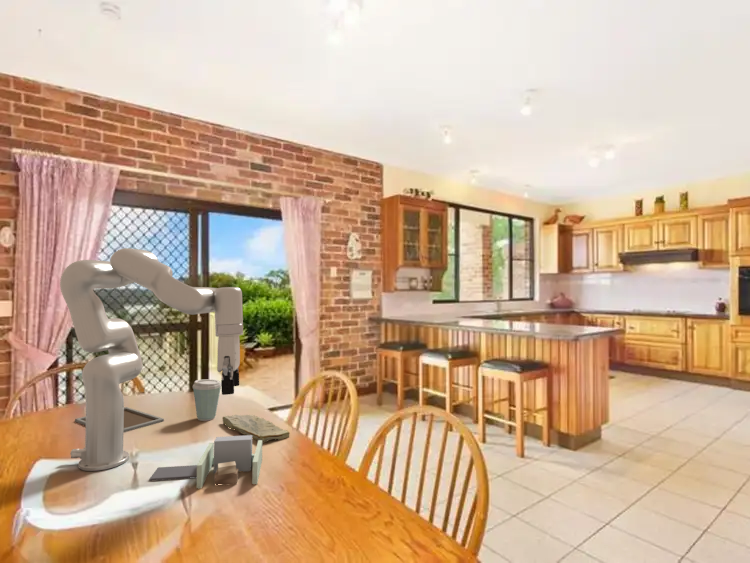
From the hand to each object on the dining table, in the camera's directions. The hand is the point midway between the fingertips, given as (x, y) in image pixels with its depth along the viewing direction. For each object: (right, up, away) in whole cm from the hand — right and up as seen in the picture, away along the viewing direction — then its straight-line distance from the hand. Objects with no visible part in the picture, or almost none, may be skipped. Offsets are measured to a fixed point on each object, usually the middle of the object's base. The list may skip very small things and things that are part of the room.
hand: (230, 390), depth 121 cm
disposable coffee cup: (-25, -23, +45) cm, 56 cm away
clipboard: (-58, -23, +41) cm, 75 cm away
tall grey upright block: (+1, -23, 0) cm, 23 cm away
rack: (+1, -23, -2) cm, 23 cm away
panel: (-14, -23, -3) cm, 27 cm away
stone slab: (-3, -24, +33) cm, 41 cm away
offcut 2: (+1, -23, -7) cm, 24 cm away
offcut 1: (+1, -20, -7) cm, 21 cm away
